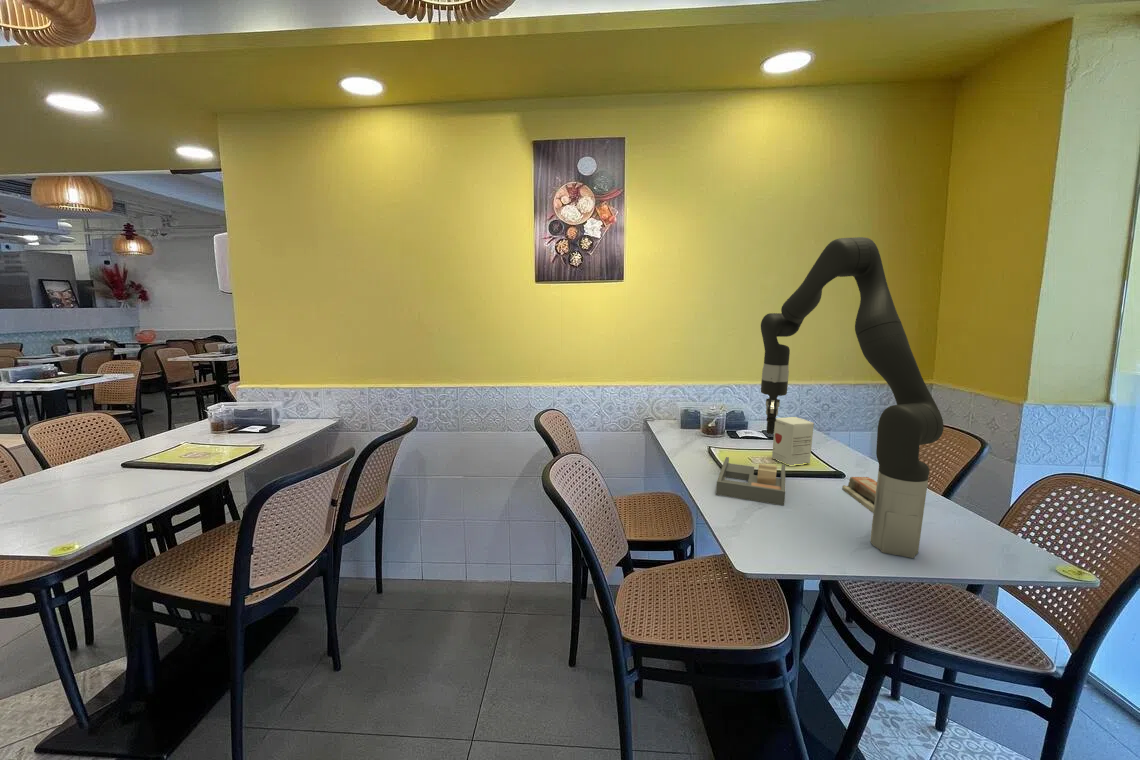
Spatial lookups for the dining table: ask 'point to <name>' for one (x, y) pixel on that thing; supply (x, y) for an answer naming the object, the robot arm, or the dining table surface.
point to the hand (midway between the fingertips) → (770, 433)
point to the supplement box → (792, 440)
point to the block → (767, 474)
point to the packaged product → (862, 491)
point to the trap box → (749, 484)
